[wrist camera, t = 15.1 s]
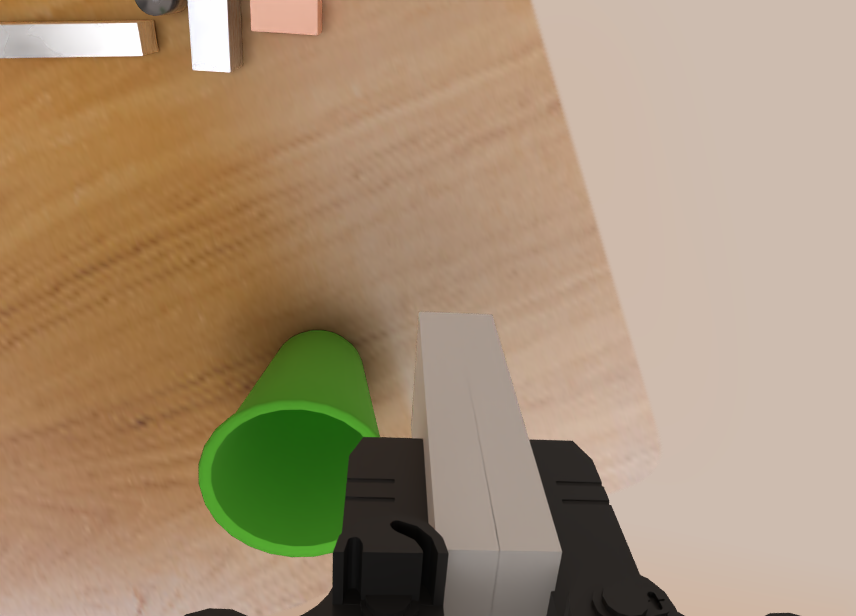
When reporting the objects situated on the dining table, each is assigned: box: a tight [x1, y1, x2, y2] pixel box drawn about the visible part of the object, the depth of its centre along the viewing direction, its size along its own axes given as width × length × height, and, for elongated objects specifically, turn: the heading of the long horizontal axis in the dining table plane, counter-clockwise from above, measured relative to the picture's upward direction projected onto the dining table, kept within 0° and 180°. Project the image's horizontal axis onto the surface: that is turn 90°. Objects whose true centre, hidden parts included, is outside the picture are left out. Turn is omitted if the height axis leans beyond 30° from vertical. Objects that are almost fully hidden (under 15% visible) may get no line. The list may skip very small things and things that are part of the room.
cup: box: [199, 330, 380, 557], centre depth 37 cm, size 9×9×11 cm
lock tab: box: [250, 0, 322, 35], centre depth 33 cm, size 3×2×2 cm
